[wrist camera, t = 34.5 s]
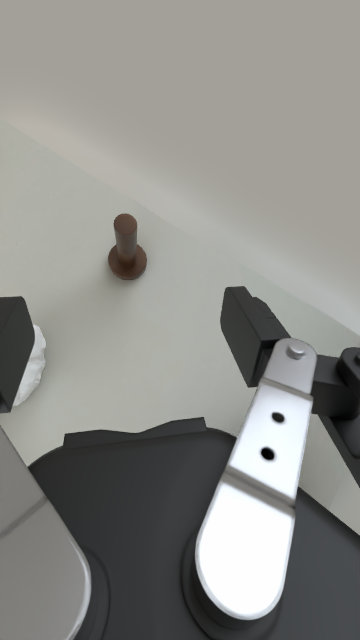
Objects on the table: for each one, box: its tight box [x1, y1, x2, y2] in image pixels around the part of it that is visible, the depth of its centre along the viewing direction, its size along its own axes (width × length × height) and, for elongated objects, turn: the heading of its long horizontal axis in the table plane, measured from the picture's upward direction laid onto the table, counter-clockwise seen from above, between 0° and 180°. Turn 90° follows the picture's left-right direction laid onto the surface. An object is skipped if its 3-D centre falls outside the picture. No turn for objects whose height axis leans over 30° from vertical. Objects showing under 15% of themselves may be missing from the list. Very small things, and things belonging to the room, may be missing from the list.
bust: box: [12, 324, 46, 407], centre depth 29 cm, size 12×8×11 cm
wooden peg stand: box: [108, 214, 147, 280], centre depth 33 cm, size 5×5×10 cm
